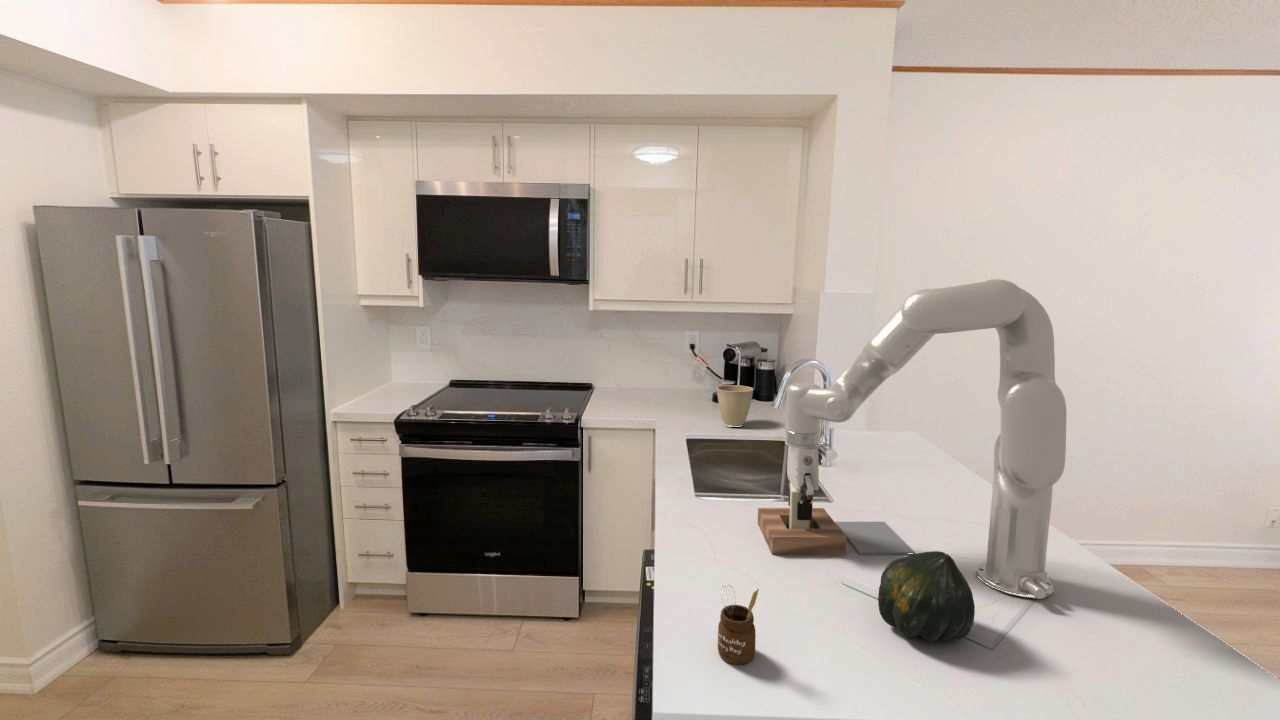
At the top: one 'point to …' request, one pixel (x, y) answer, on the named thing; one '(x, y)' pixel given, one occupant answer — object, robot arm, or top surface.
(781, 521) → the pocket block
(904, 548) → the slate mat
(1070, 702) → the top surface
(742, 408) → the plant pot
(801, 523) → the skincare box
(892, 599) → the squash
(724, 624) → the utensil holder
